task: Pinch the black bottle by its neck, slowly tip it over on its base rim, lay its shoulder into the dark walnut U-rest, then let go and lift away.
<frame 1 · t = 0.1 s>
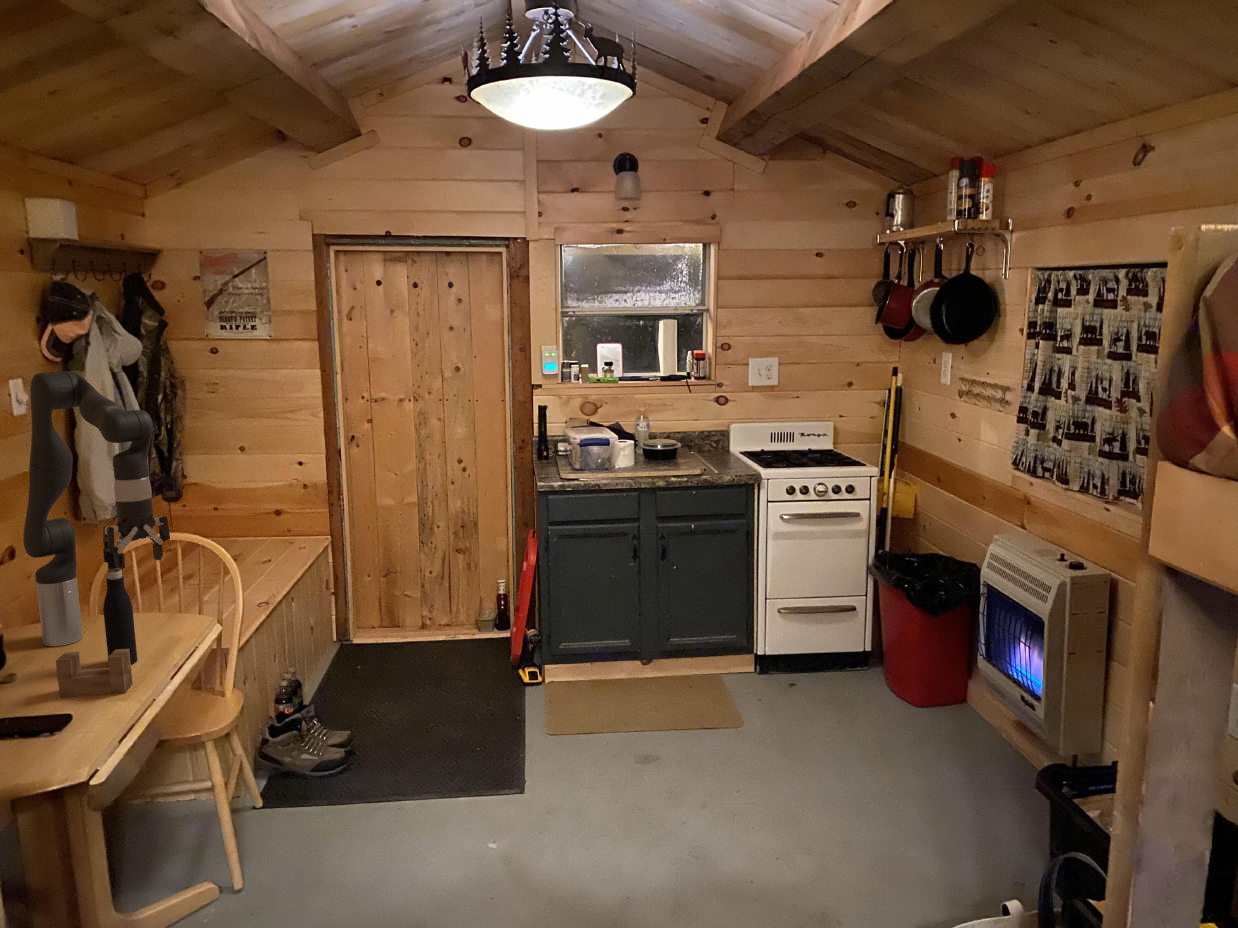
hand: (139, 563, 212), 29 cm above the table, tool pointing down, fingers open, 8 cm apart
black bottle: (123, 663, 228), on the table
walnut U-rest: (96, 690, 212), on the table
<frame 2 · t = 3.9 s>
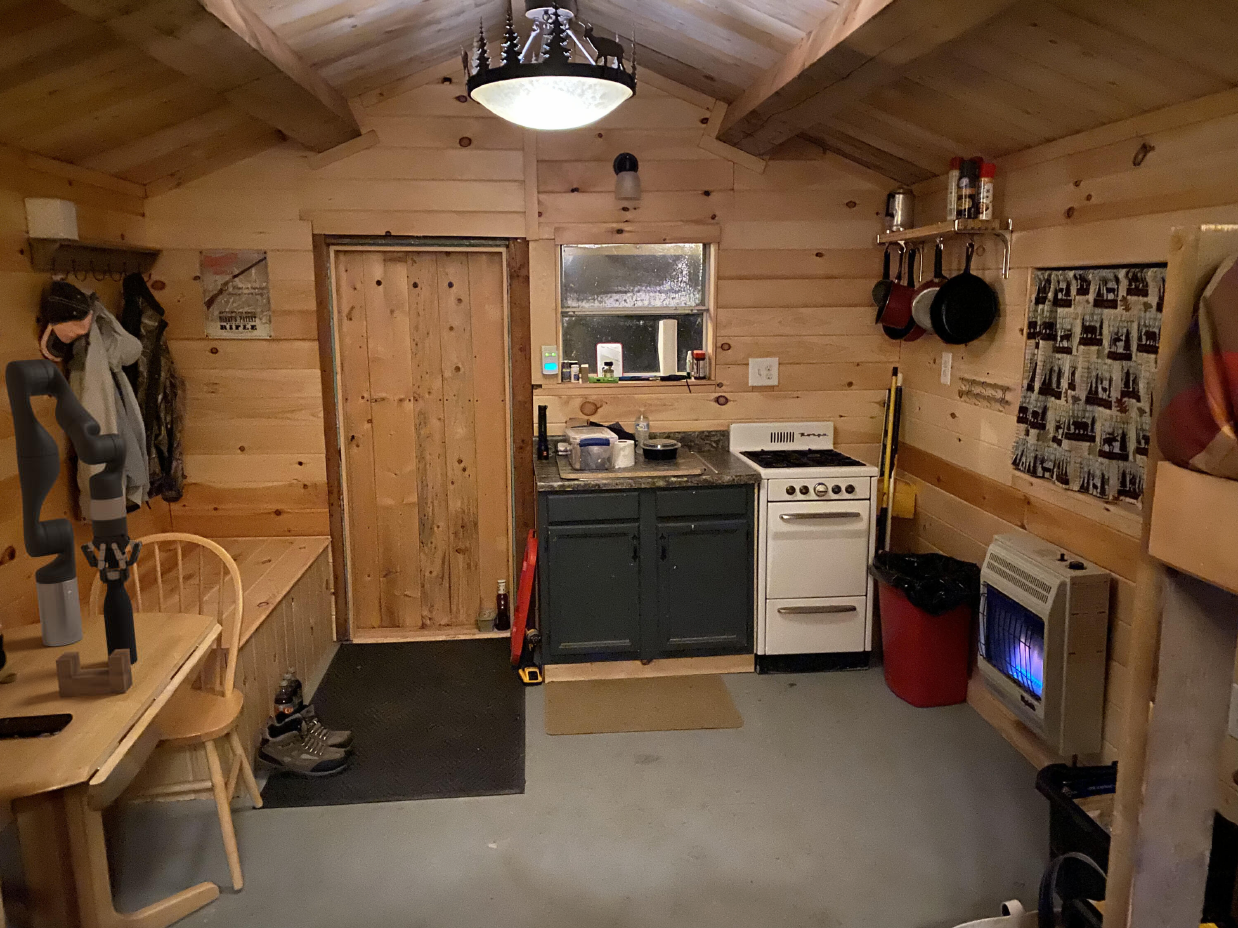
hand: (115, 581, 224), 21 cm above the table, tool pointing down, fingers closed on black bottle, 3 cm apart
black bottle: (123, 663, 228), on the table, touching gripper
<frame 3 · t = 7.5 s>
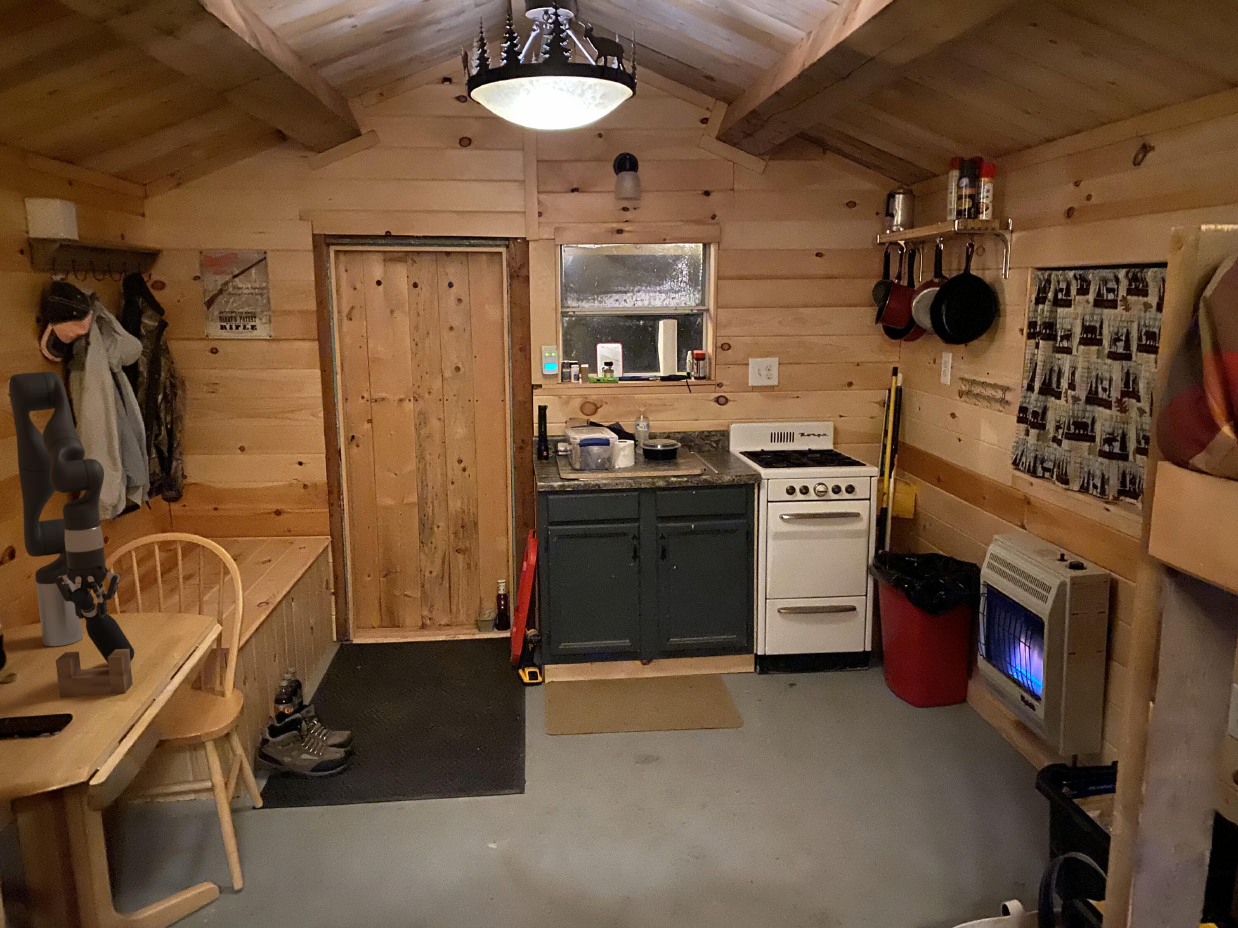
hand: (92, 616, 210), 18 cm above the table, tool pointing down, fingers closed on black bottle, 3 cm apart
black bottle: (120, 656, 227), point 2 cm above the table, touching gripper
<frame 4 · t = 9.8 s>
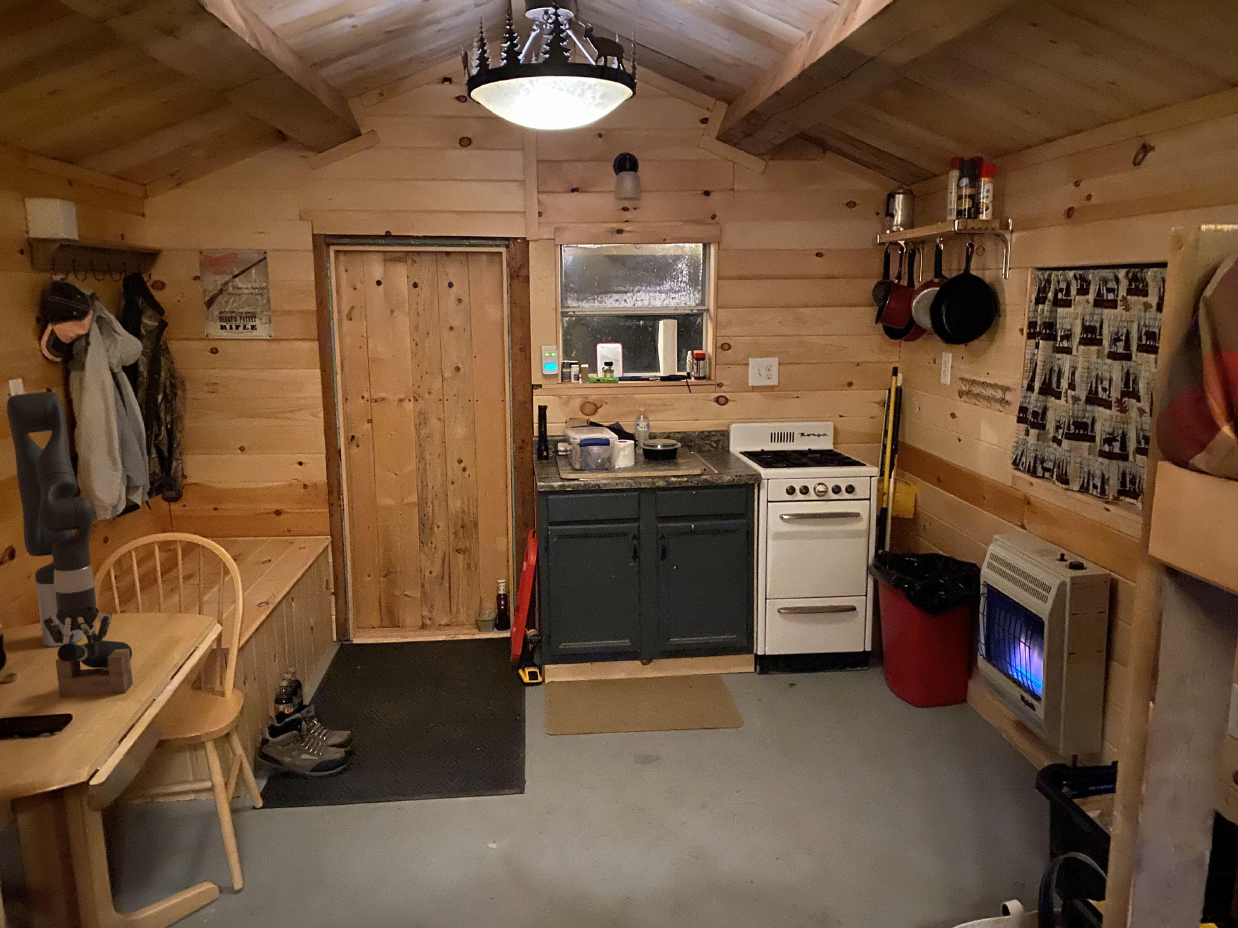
hand: (82, 657, 204), 10 cm above the table, tool pointing down, fingers closed on black bottle, 3 cm apart
black bottle: (118, 654, 226), point 3 cm above the table, touching gripper
when the fingers open (9 cm above the table, at t = 11.3 s): black bottle drops 1 cm, resting on walnut U-rest.
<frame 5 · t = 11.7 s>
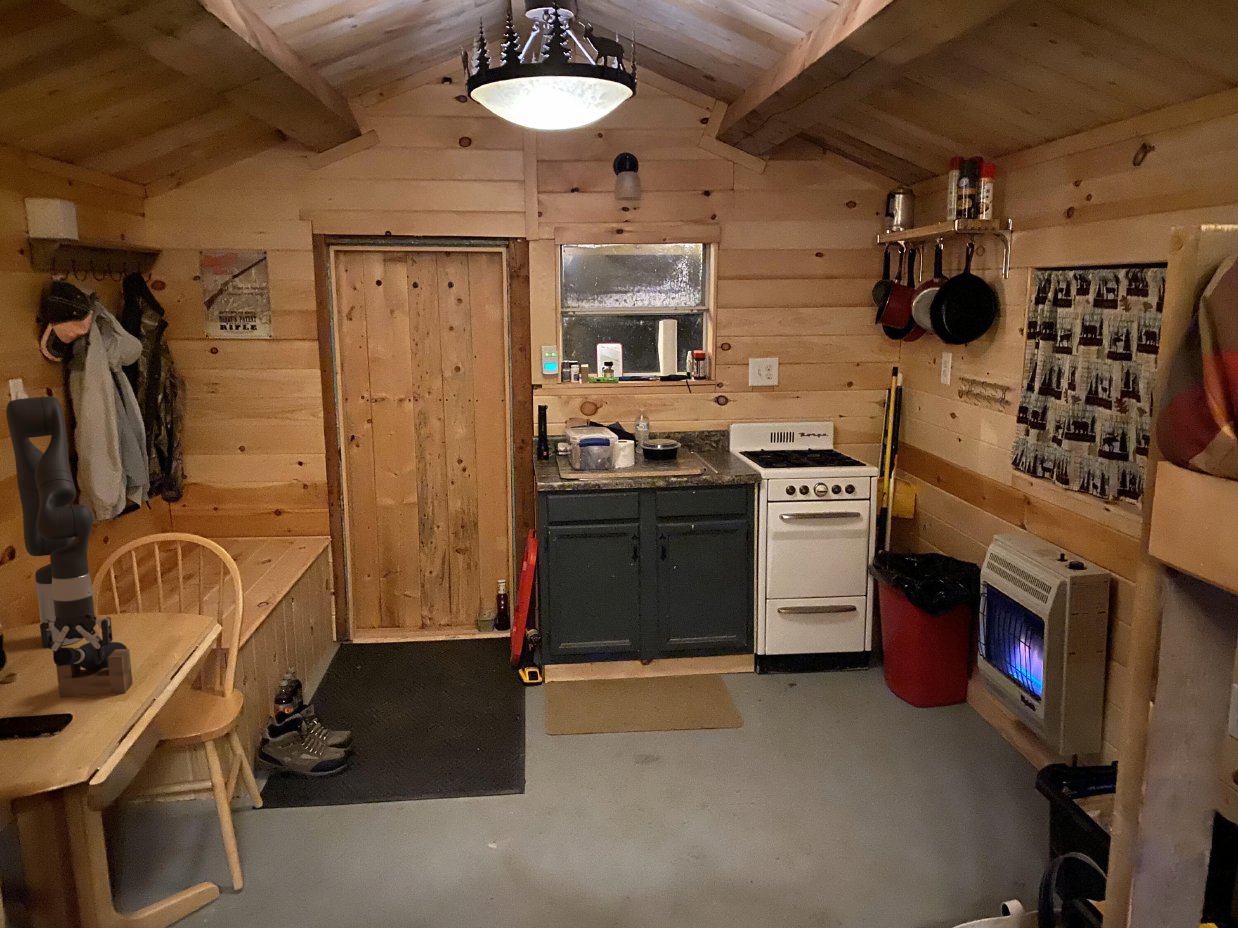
hand: (80, 663, 203), 10 cm above the table, tool pointing down, fingers open, 7 cm apart
black bottle: (115, 655, 225), point 3 cm above the table, touching walnut U-rest
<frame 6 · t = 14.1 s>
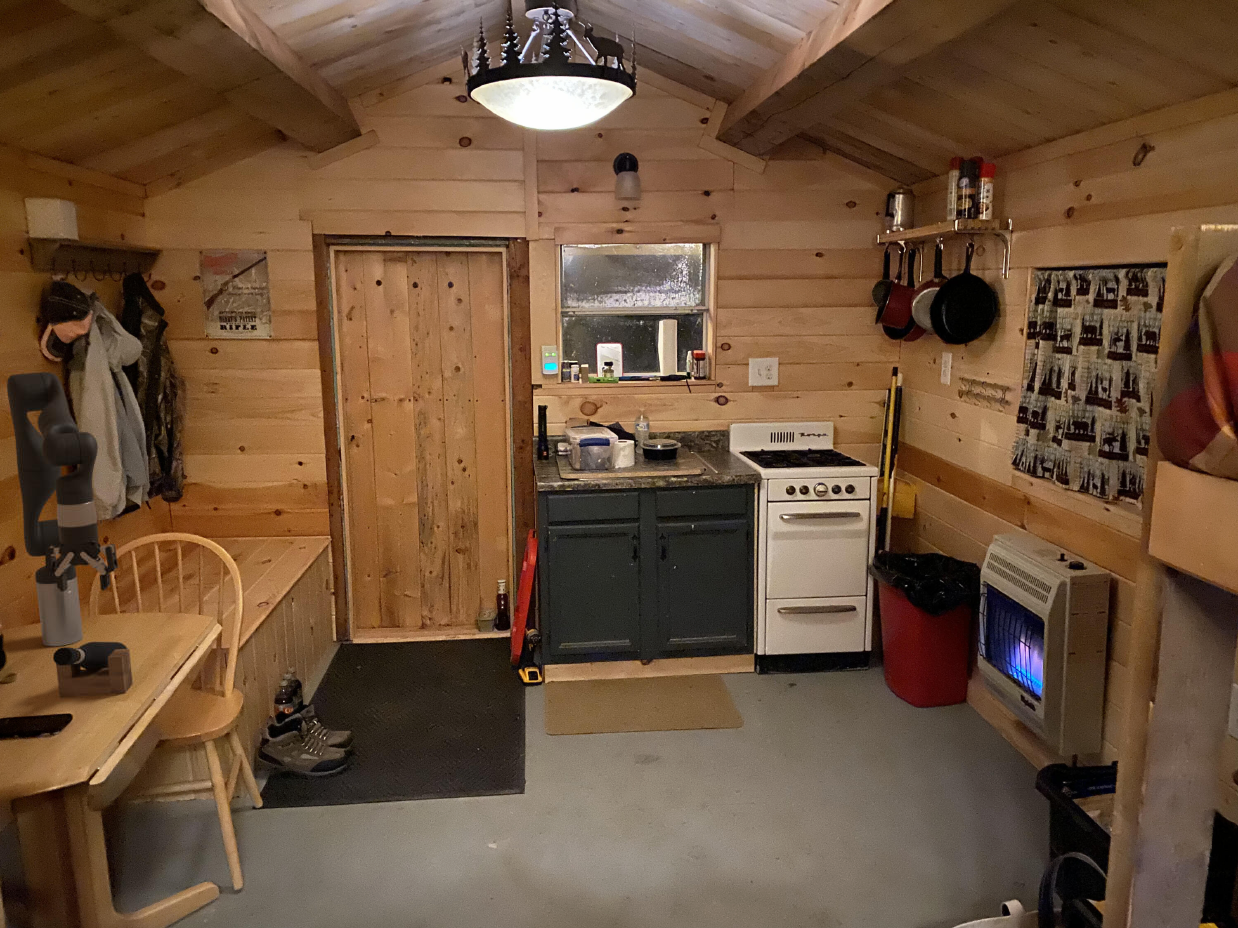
hand: (84, 589, 206), 25 cm above the table, tool pointing down, fingers open, 8 cm apart
nothing on the table moved.
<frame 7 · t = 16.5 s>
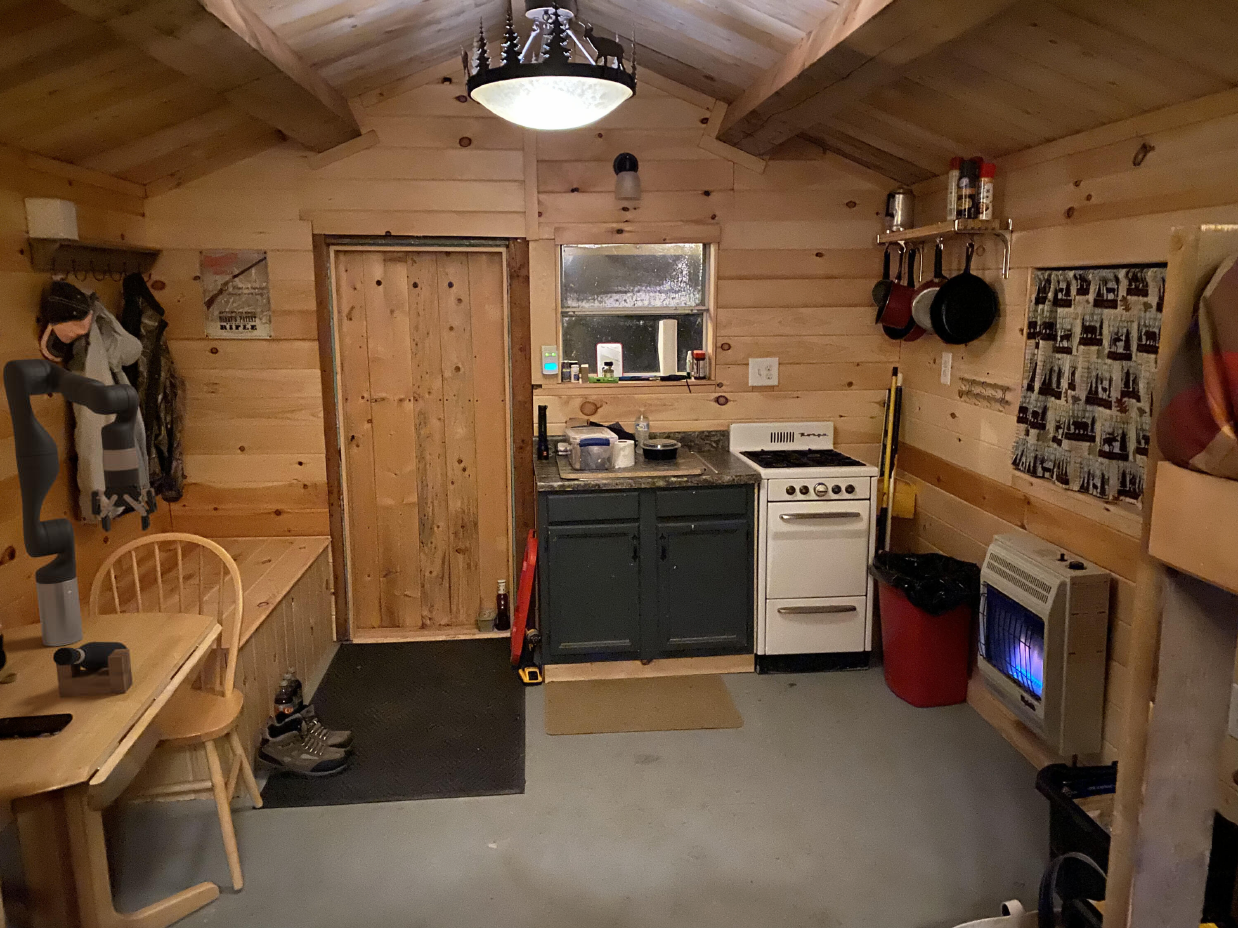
hand: (126, 530, 223), 34 cm above the table, tool pointing down, fingers open, 8 cm apart
nothing on the table moved.
at the end: black bottle tilted 68°; black bottle touching table, walnut U-rest; the gripper is holding nothing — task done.
